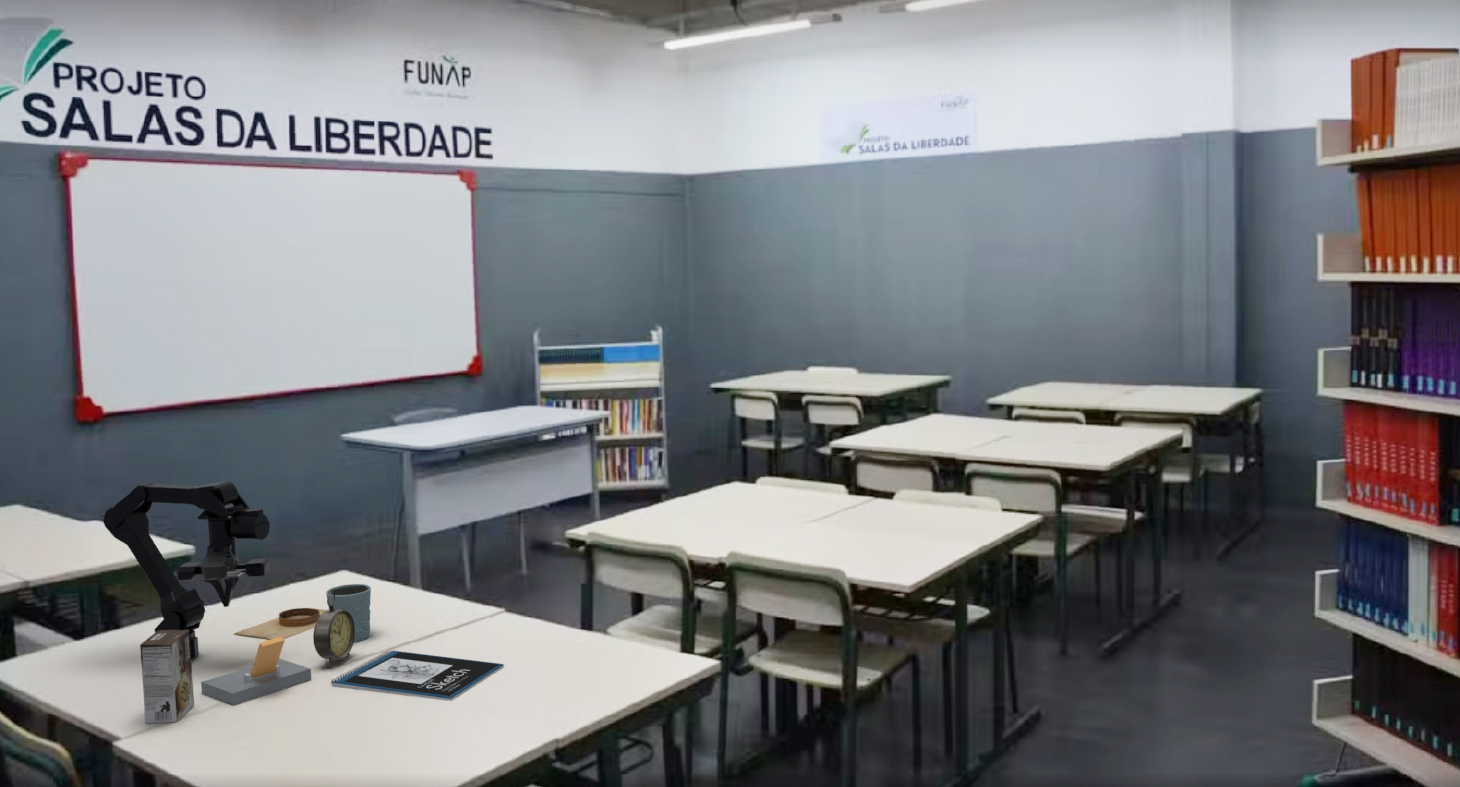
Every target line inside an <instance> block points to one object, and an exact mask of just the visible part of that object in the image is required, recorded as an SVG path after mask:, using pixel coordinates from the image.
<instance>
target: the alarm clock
mask: <svg viewBox="0 0 1460 787" xmlns="http://www.w3.org/2000/svg"><path fill="white" fill-rule="evenodd" d="M331 593H332V594H333V596H334V601H333V604H330V605H329V603H328V600H329V596H330V594H331ZM326 599H327V600H326V603H327V606H328V608H329V607H330V610H329V609H326V610H327V611H325V612H323V613H322V614H321V615H320V616H319V618H318V620H317V622H316V624H315V628H313V636H312V638H313V647H314V649H315V652H316V653H317V655H318V656H319V657H320V658H322V659H324V661H325V662H326V661H327V660H328V661H327V666H326V668H327V669H330V668H331V664H332V661H333V660H343V659H344V658H346V657H347V656H350V655H351V654H350V652H351V651H352V648H353V646H354V643H355V642H354V638H355V625H354V621H353V618H352V616H351V614H350V613H349V612H348V611H346V610H334V608H333V606H334V602H335V594H334V593H333V592H330V593H329V595H328V598H327V597H326Z"/></svg>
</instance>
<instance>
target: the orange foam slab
mask: <svg viewBox="0 0 1460 787" xmlns="http://www.w3.org/2000/svg"><path fill="white" fill-rule="evenodd" d="M285 640H286V639H283V637H278V638H275V639H271V640H265V641H261V642H259V645H258V648H257V651H256V654H255V658H254V660H253V664H252V666H253V667H252V666H251V667H252V670H251V673H250V674H251V677H252V678H253V679H254V678H257V677H260V676H264V675H267V674H270V673H273V672H275V669H276V666H277V663H278V660H279V659H280V656H281V653H282V650H283V646H284V643H285Z"/></svg>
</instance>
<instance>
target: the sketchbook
mask: <svg viewBox="0 0 1460 787" xmlns="http://www.w3.org/2000/svg"><path fill="white" fill-rule="evenodd" d="M504 666H505V665H504V663H498V662H489V661H481V660H472V659H467V658H466V659H464V658H457V657H449V656H448V657H447V656H441V655H440V656H439V655H432V654H431V655H430V654H424V653H423V654H422V653H416V652H409V651H408V652H407V651H402V650H401V651H399V650H391V649H387V650H386V651H384V652H382V653H380V654H378V655H377V656H374V657H373V658H370V659H369V660H367V661H365V662H363V663H361V664H359V665H358V666H355V667H353V668H351V669H349V670H348V671H346V672H344V673H341V674H340V675H337V676H335V677H333V678H332V679H331V680H330V685H332V687H334V688H344V689H351V690H361V691H368V692H376V693H386V694H393V695H399V696H401V695H402V696H408V697H409V696H411V697H416V698H427V699H434V700H442V701H451V702H452V701H453V700H454V699H455V698H458V697H459V696H460V695H462V694H463V693H465V692H467V691H468V690H470V689H472V688H473V687H475V686H476V685H478V684H479V683H481V682H483V681H484V680H485V679H487V678H488V677H490V676H491V675H493V674H495V673H497V672H498V671H500V670H501V669H502V668H504Z"/></svg>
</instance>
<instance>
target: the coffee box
mask: <svg viewBox="0 0 1460 787" xmlns="http://www.w3.org/2000/svg"><path fill="white" fill-rule="evenodd" d="M139 647H140V659H141V660H140V661H141V662H140V663H141V676H142V691H143V703H144V704H143V705H144V722H145V723H146V724H160V723H162V724H164V723H165V724H166V723H177V722H179V721H180V720H181V719H182V718H183V717H184V716H185V714H188V712H189V711H190V710H191V709H192V708H193V707H194V706H195V696H194V681H193V667H192V666H193V665H192V661H191V651H190V637H189V630H159V631H157V632H156V633H155V632H154V633H153V634H152V635H150V636H149V637H148V638H147V639H146V640H144V641H143V642H142V643H141V644H139Z"/></svg>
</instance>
